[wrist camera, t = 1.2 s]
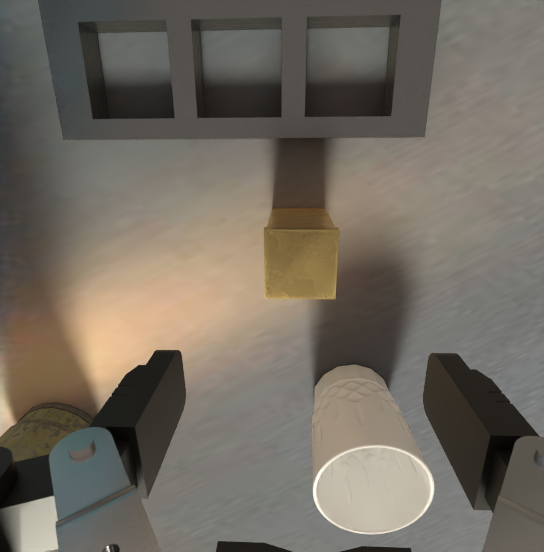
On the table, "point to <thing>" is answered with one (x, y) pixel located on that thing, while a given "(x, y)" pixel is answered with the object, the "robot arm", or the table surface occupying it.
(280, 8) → the grey compartment tray
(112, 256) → the table surface
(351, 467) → the white cup
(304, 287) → the golden rectangular block
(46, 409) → the thermos
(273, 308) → the table surface
